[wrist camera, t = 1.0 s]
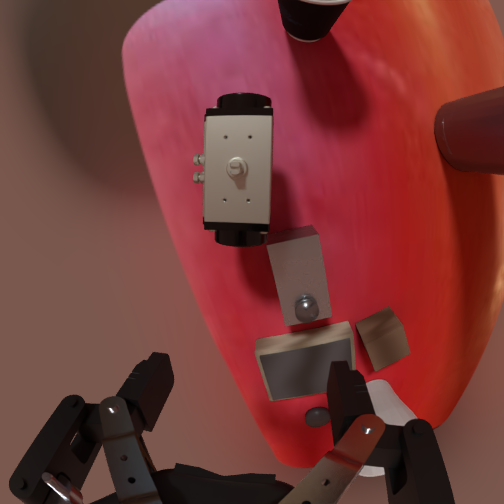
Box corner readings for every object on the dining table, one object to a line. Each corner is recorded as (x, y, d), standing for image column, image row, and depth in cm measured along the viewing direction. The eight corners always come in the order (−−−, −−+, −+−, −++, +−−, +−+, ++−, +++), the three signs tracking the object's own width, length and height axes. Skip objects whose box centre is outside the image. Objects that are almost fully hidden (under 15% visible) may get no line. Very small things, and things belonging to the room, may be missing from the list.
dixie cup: (260, 38, 24) (253, -15, 14) (286, -4, 22) (287, -58, 11) (325, 63, 24) (347, 17, 14) (346, 19, 22) (370, -30, 12)
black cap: (328, 403, 38) (329, 410, 36) (329, 417, 39) (331, 424, 37) (303, 408, 38) (304, 415, 37) (306, 422, 39) (307, 428, 38)
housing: (267, 233, 31) (266, 248, 25) (311, 224, 30) (320, 236, 24) (284, 304, 33) (285, 331, 27) (324, 296, 32) (333, 321, 27)
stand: (347, 320, 33) (354, 335, 30) (351, 371, 35) (356, 386, 32) (256, 339, 35) (254, 354, 31) (270, 387, 37) (270, 403, 34)
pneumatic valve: (274, 118, 27) (273, 84, 15) (270, 224, 30) (267, 256, 19) (222, 118, 27) (191, 87, 16) (220, 222, 31) (188, 252, 19)
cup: (339, 377, 36) (356, 450, 23) (404, 360, 34) (439, 423, 21) (341, 419, 38) (353, 483, 25) (398, 403, 37) (421, 461, 24)
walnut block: (388, 305, 32) (402, 325, 27) (397, 333, 33) (410, 353, 28) (355, 323, 33) (365, 345, 28) (365, 349, 34) (375, 371, 29)
